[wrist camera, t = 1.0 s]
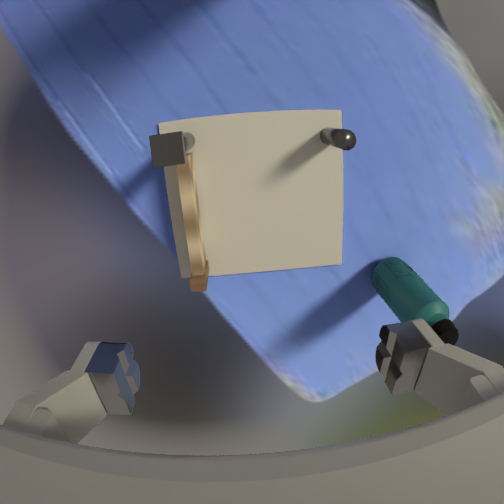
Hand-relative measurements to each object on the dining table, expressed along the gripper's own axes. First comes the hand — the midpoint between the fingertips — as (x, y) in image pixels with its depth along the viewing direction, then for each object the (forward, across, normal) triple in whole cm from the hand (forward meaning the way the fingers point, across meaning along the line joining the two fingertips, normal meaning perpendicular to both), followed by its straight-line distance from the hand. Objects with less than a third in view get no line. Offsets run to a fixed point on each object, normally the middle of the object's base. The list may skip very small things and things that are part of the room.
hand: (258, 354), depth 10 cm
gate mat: (+36, -2, +3) cm, 36 cm away
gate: (+35, +7, +5) cm, 36 cm away
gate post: (+36, +7, -6) cm, 37 cm away
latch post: (+36, -12, -6) cm, 38 cm away
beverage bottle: (+36, -23, +16) cm, 46 cm away
